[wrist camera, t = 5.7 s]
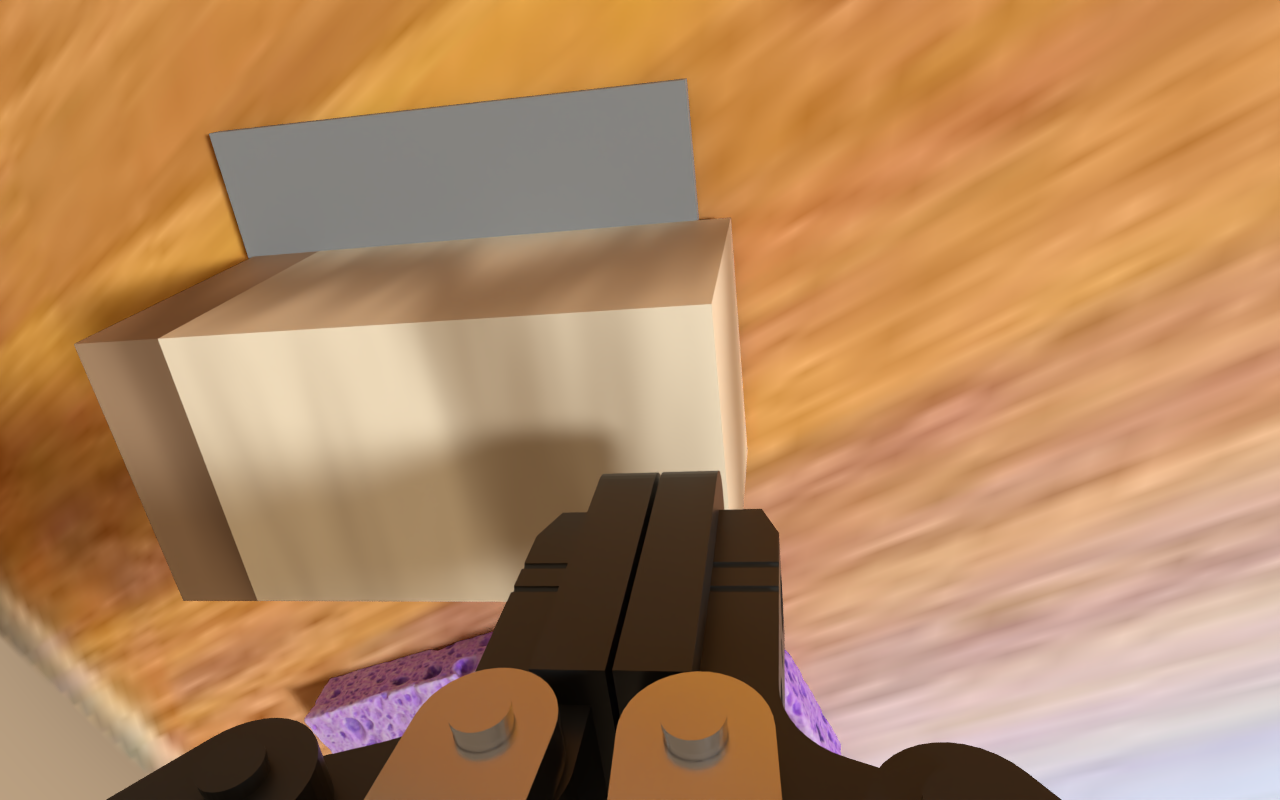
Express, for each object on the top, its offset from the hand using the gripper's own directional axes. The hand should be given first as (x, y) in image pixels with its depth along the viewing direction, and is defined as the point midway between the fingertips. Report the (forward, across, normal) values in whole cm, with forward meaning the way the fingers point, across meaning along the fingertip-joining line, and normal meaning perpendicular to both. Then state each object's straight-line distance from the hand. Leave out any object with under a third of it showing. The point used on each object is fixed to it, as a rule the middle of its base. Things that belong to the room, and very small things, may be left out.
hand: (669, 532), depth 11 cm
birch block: (+4, -1, 0) cm, 4 cm away
